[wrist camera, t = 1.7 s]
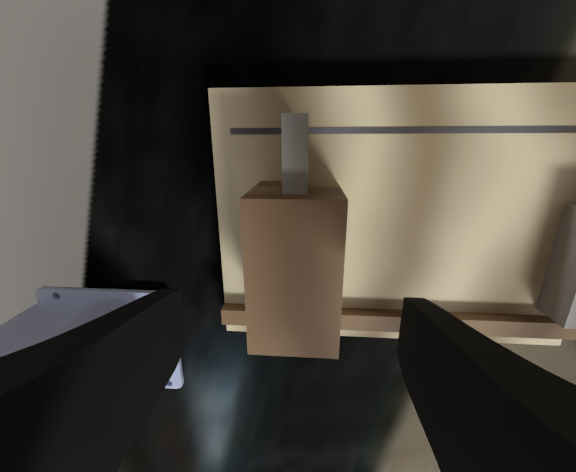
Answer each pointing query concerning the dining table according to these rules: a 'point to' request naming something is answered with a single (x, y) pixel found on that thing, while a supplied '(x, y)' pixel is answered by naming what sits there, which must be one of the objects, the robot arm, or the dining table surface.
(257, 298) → the tan block
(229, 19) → the dining table surface
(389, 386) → the dining table surface
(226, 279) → the birch board
